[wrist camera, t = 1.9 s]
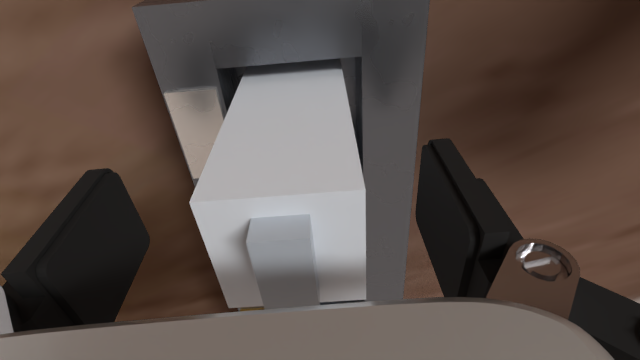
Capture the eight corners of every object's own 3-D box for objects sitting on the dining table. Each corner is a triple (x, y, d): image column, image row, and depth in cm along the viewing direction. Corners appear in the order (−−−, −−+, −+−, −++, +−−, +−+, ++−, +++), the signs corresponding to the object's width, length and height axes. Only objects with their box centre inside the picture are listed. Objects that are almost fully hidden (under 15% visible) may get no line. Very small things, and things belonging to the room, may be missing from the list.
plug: (338, 52, 16) (370, 213, 8) (342, 131, 19) (369, 324, 10) (249, 59, 16) (178, 226, 8) (264, 137, 19) (223, 333, 10)
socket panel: (409, -33, 15) (433, -20, 12) (389, 316, 29) (398, 362, 26) (164, -11, 15) (129, 8, 12) (263, 324, 29) (258, 370, 26)
